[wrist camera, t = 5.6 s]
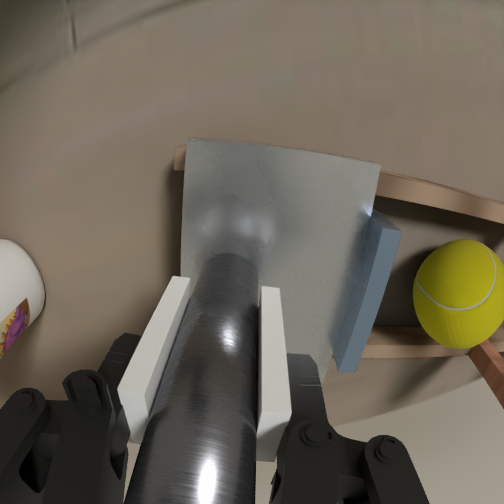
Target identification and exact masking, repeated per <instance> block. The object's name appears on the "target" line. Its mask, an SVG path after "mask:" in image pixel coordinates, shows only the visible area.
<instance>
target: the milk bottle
mask: <svg viewBox="0 0 504 504" xmlns="http://www.w3.org/2000/svg"><path fill="white" fill-rule="evenodd" d="M44 300H45V289H44V283H43V280H42V277H41V274H40V272H39V270H38V268H37V266H36V264H35V262H34V261H33V259H32V258H31V257H30V255H29V254H28V253H27V252H26V251H25V250H24V249H23V248H22V247H21V246H19V245H18V244H17V243H15V242H13V241H10V240H6V239H0V359H1V358H2V356H3V355H4V354H5V353H6V352H7V350H8V349H9V348H10V347H11V346H12V345H13V343H14V342H15V341H16V340H17V339H18V338H19V337H20V335H21V334H22V333H23V332H24V331H25V330H26V329H27V328H28V326H29V325H30V324H31V323H32V322H33V321H34V320H35V319H36V317H37V316H38V315H39V314H40V313H41V311H42V308H43V305H44Z"/></svg>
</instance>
